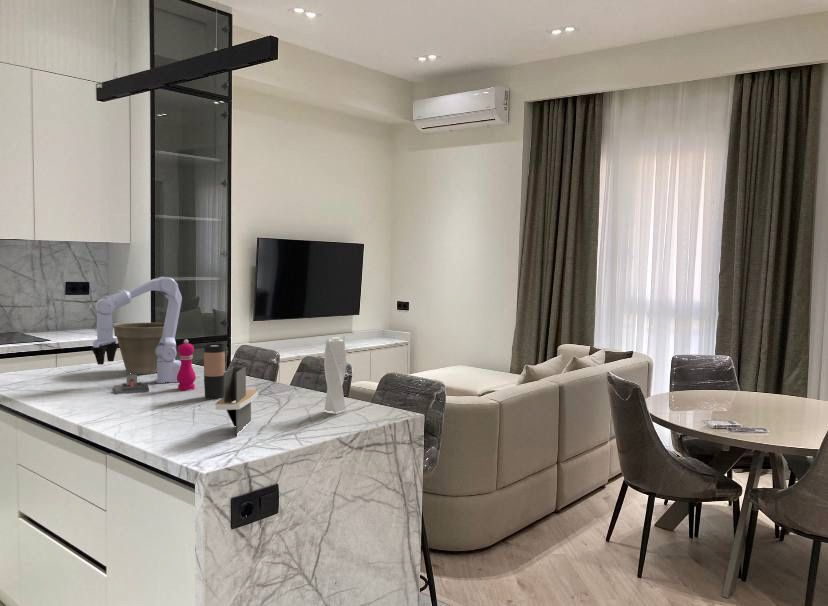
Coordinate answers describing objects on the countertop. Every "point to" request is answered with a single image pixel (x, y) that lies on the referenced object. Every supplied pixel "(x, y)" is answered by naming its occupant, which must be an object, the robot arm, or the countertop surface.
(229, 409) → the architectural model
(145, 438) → the countertop surface
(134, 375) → the brushed metal block
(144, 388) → the stand base
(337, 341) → the skyscraper
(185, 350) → the pepper mill
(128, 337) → the plant pot
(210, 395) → the travel mug
